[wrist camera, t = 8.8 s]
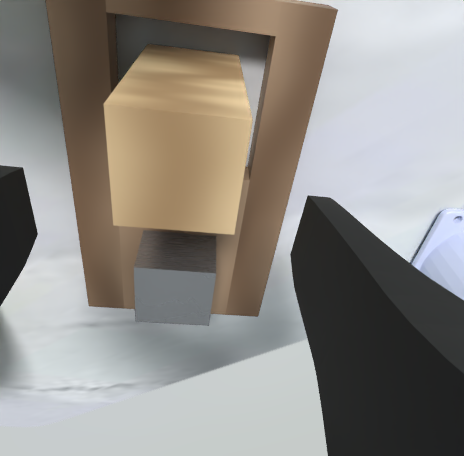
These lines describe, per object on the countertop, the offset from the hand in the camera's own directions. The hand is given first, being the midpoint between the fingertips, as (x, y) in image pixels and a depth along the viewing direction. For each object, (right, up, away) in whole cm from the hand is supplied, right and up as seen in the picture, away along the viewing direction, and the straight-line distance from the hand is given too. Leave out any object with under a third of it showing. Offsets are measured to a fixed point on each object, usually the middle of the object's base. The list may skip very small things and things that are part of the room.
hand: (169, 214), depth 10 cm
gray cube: (-2, -1, +13) cm, 13 cm away
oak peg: (0, +6, +8) cm, 10 cm away
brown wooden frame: (-1, +2, +11) cm, 11 cm away
